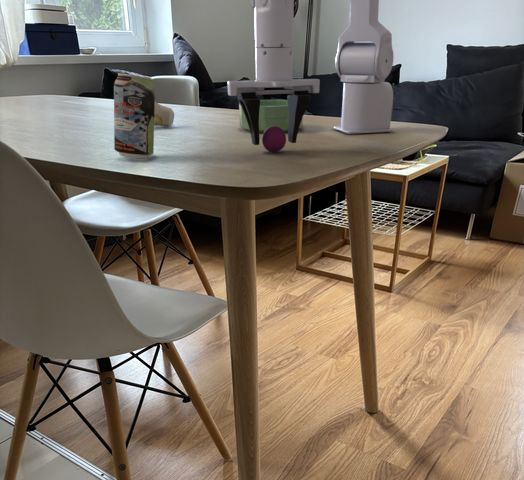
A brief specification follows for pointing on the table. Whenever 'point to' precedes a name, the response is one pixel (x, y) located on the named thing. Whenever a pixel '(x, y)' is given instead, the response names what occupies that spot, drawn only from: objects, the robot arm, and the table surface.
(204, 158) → the table surface
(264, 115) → the bowl
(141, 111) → the tall printed two-tone box
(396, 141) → the table surface
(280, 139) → the ball
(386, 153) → the table surface
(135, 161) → the table surface
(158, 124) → the mug
